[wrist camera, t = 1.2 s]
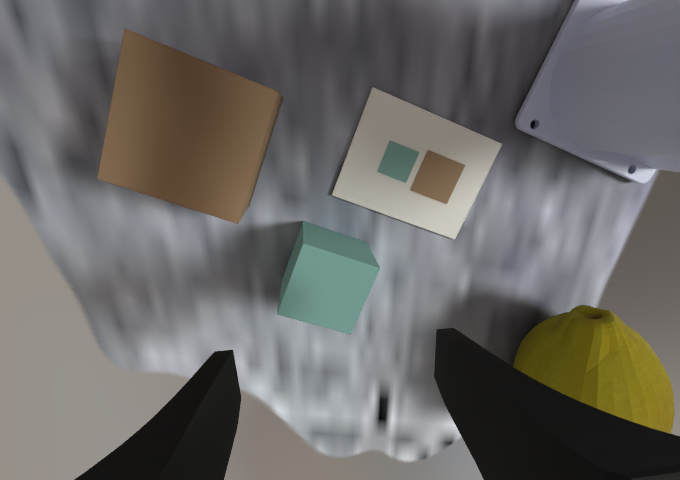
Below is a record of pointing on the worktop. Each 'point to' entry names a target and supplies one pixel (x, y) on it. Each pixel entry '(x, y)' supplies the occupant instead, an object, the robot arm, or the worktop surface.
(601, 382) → the lemon
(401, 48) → the worktop surface
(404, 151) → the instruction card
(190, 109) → the walnut block
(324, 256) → the teal block
